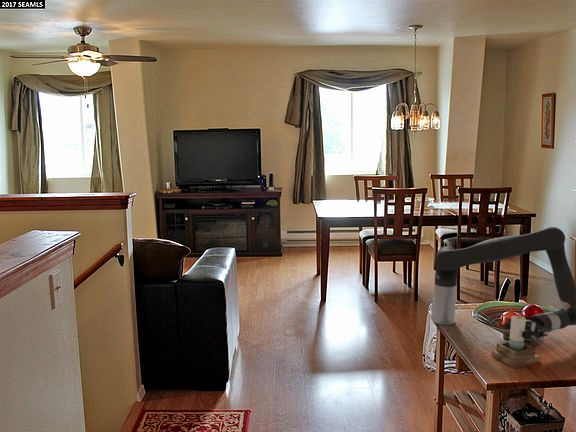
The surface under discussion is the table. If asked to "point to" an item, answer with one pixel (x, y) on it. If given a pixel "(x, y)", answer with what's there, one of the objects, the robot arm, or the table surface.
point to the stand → (515, 355)
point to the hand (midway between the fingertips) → (513, 330)
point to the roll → (517, 333)
